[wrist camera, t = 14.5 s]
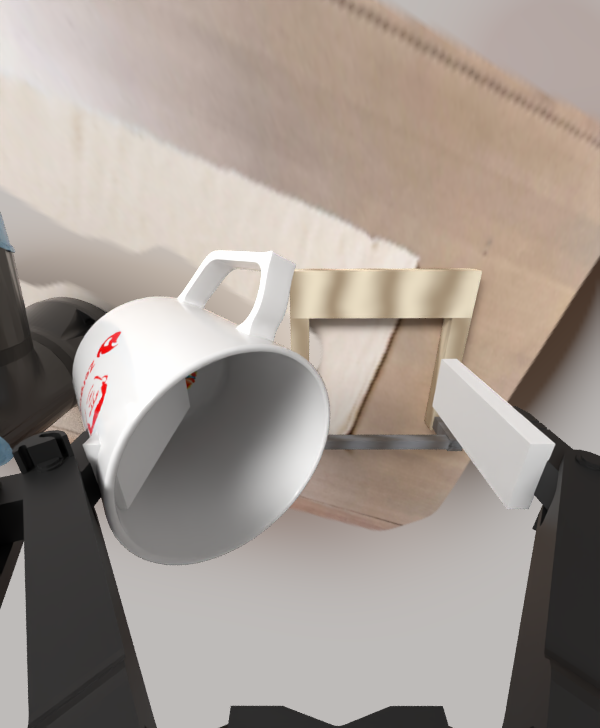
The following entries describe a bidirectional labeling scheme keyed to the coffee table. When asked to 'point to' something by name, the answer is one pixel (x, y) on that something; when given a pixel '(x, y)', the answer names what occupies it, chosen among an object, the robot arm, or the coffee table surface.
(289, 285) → the mug
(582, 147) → the coffee table surface
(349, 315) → the beige and grey frame
